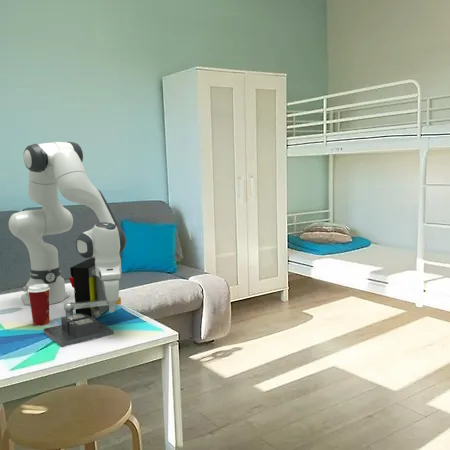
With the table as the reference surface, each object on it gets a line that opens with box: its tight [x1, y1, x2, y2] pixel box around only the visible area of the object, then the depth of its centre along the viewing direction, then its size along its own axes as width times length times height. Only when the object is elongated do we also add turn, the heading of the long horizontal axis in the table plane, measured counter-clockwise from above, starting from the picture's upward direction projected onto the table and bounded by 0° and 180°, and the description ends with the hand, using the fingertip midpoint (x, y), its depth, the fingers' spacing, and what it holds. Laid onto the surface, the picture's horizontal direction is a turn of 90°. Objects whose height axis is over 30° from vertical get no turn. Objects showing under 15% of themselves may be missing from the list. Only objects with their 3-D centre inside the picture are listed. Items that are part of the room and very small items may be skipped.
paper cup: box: [28, 284, 50, 326], centre depth 186 cm, size 8×8×14 cm
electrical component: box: [68, 258, 109, 320], centre depth 196 cm, size 18×10×20 cm, turn 168°
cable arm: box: [63, 296, 122, 312], centre depth 182 cm, size 20×3×2 cm, turn 109°
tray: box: [43, 310, 114, 348], centre depth 174 cm, size 17×18×6 cm
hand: (110, 308), depth 178 cm, fingers open, 7 cm apart
